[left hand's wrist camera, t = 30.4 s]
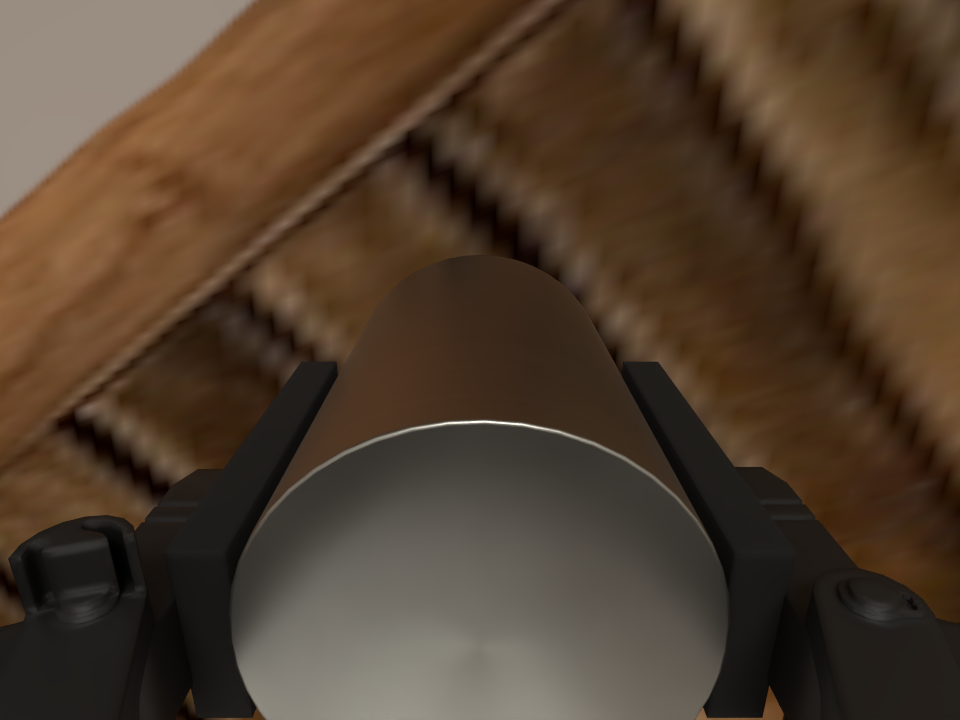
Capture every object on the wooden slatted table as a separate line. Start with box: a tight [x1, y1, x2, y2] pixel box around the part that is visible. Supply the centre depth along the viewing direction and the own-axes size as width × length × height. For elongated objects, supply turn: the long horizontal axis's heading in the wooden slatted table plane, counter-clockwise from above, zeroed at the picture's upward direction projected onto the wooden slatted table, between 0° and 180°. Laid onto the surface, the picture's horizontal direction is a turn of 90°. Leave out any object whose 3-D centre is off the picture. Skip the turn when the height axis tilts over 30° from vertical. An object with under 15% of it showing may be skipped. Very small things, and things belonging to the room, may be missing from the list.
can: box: [229, 255, 730, 720], centre depth 12 cm, size 6×6×9 cm
